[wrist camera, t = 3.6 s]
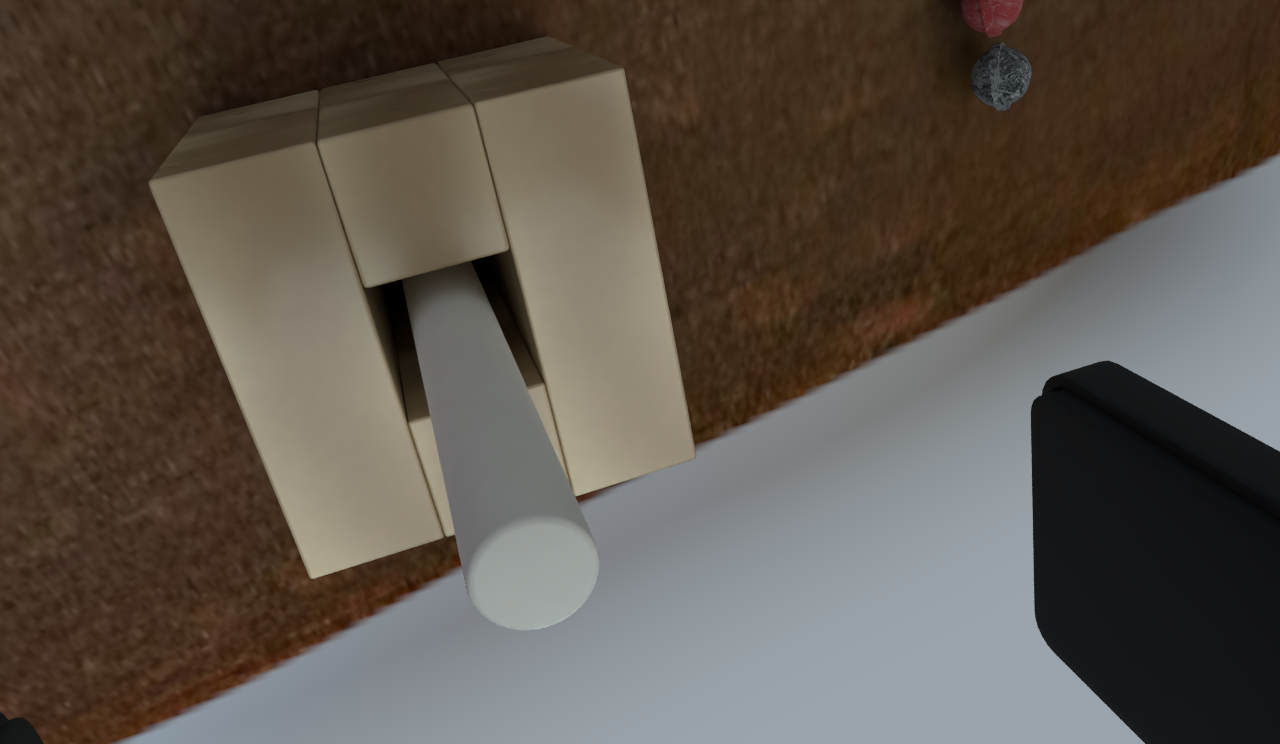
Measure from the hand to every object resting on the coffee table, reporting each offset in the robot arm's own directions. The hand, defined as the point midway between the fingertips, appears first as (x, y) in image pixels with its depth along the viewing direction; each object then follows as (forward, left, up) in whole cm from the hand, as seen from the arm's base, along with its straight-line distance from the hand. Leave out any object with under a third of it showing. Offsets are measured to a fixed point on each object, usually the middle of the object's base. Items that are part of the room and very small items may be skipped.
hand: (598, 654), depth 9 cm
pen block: (0, 0, -14) cm, 14 cm away
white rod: (0, 0, -14) cm, 14 cm away
